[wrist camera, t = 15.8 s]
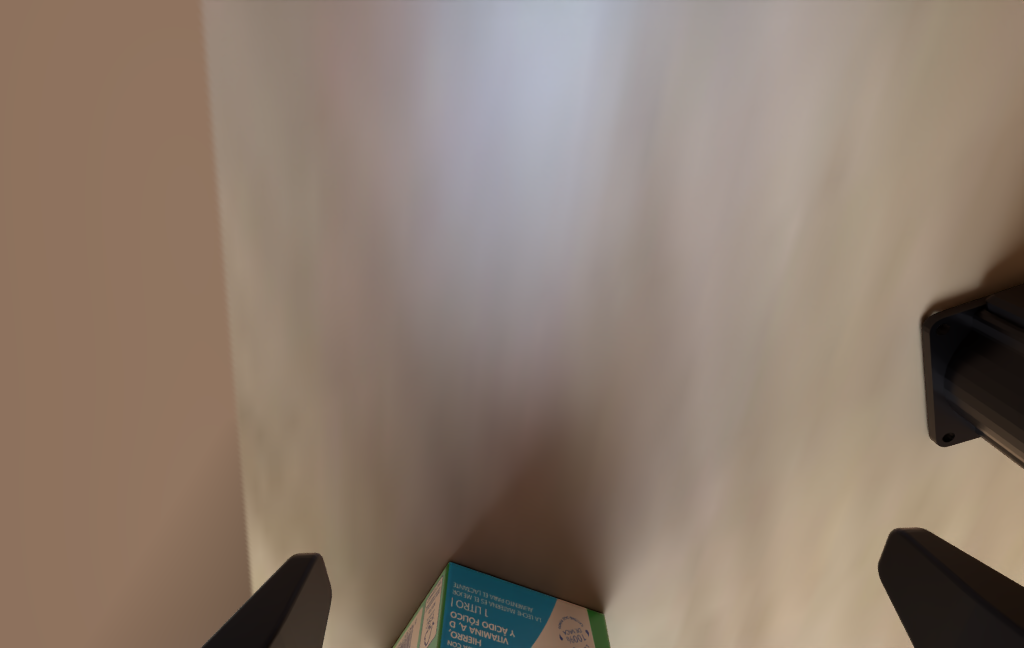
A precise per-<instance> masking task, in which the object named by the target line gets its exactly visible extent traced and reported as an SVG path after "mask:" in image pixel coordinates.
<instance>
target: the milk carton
mask: <svg viewBox="0 0 1024 648" xmlns="http://www.w3.org/2000/svg"><path fill="white" fill-rule="evenodd" d="M393 648H610V642H609V637H608V632H607V626H606V621H605V616H604V614H601V613H598V612H596V611H593V610H590V609H587V608H584V607H581V606H578V605H575V604H572V603H569V602H566V601H563V600H560V599H557V598H554V597H552V596H549V595H546V594H543V593H540V592H537V591H534V590H531V589H528V588H525V587H522V586H519V585H516V584H513V583H510V582H507V581H505V580H502V579H499V578H496V577H493V576H490V575H487V574H484V573H481V572H478V571H475V570H472V569H469V568H466V567H463V566H461V565H458V564H455V563H452V562H449V563H448V565H447V566H446V568H445V569H444V571H443V572H442V574H441V575H440V577H439V578H438V580H437V581H436V583H435V584H434V586H433V587H432V589H431V590H430V592H429V593H428V595H427V596H426V598H425V599H424V601H423V603H422V604H421V606H420V607H419V609H418V610H417V612H416V613H415V615H414V616H413V618H412V619H411V621H410V622H409V624H408V625H407V627H406V628H405V630H404V631H403V633H402V634H401V636H400V637H399V639H398V640H397V642H396V644H395V645H394V647H393Z"/></svg>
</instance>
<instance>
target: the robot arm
mask: <svg viewBox="0 0 1024 648" xmlns="http://www.w3.org/2000/svg"><path fill="white" fill-rule="evenodd" d="M940 325H942V326H941V327H940V328H939V329H937V328H938V327H939V326H940ZM922 341H923V356H924V370H925V384H926V399H927V413H928V427H929V437H930V439H931V440H933V441H934V442H935V443H936V444H937V445H939V446H941V447H948V446H952V445H955V444H959V443H962V442H965V441H969V440H972V439H975V438H979V437H982V438H983V439H984V440H986V441H987V442H988V443H990V444H991V445H992V446H994V447H995V448H996V449H998V450H999V451H1000V452H1002V453H1003V454H1004V455H1006V456H1007V457H1008V458H1010V459H1011V460H1012V461H1014V462H1015V463H1016V464H1018V465H1019V466H1020V467H1022V468H1023V469H1024V284H1022V285H1019V286H1016V287H1013V288H1010V289H1007V290H1004V291H1001V292H998V293H995V294H992V295H989V296H986V297H983V298H981V299H978V300H975V301H972V302H969V303H966V304H963V305H960V306H957V307H954V308H951V309H948V310H945V311H942V312H939V313H936V314H933V315H931V316H929V317H928V318H927V319H926V320H925V321H924V323H923V325H922ZM878 572H879V576H880V579H881V582H882V584H883V586H884V588H885V590H886V592H887V594H888V596H889V598H890V600H891V602H892V604H893V606H894V608H895V610H896V612H897V614H898V616H899V618H900V620H901V622H902V624H903V626H904V628H905V630H906V632H907V634H908V636H909V638H910V640H911V642H912V644H913V646H914V648H1024V587H1023V586H1021V585H1019V584H1018V583H1016V582H1014V581H1013V580H1011V579H1009V578H1008V577H1006V576H1004V575H1002V574H1001V573H999V572H997V571H996V570H994V569H992V568H991V567H989V566H987V565H985V564H984V563H982V562H980V561H979V560H977V559H975V558H974V557H972V556H970V555H968V554H967V553H965V552H963V551H962V550H960V549H958V548H957V547H955V546H953V545H951V544H950V543H948V542H946V541H945V540H943V539H941V538H940V537H938V536H936V535H935V534H933V533H931V532H929V531H927V530H925V529H923V528H915V527H914V528H896V529H894V530H892V531H891V532H890V534H889V536H888V539H887V541H886V544H885V546H884V549H883V552H882V554H881V557H880V560H879V563H878ZM331 598H332V590H331V585H330V581H329V578H328V574H327V571H326V567H325V564H324V560H323V558H322V556H321V555H320V554H319V553H299V554H295V555H293V556H292V557H290V558H289V559H288V560H287V561H286V562H285V563H284V564H283V565H282V566H281V567H280V568H279V569H278V570H277V571H276V572H275V573H274V574H273V575H272V576H271V577H270V578H269V579H268V580H267V581H266V582H265V583H264V584H263V585H262V586H261V587H260V588H259V589H258V590H257V591H256V592H255V593H254V594H253V595H252V597H251V598H250V599H249V600H248V601H247V602H246V603H245V604H244V605H243V606H242V607H241V608H240V609H239V610H238V611H237V612H236V613H235V614H234V615H233V616H232V617H231V618H230V619H229V620H228V621H227V622H226V623H225V624H224V625H223V626H222V627H221V628H220V629H219V630H218V631H217V632H216V633H215V634H214V635H213V636H212V637H211V638H210V639H209V640H208V641H207V642H206V643H205V644H204V645H203V646H202V647H201V648H322V645H323V640H324V635H325V630H326V625H327V620H328V615H329V610H330V605H331Z"/></svg>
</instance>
